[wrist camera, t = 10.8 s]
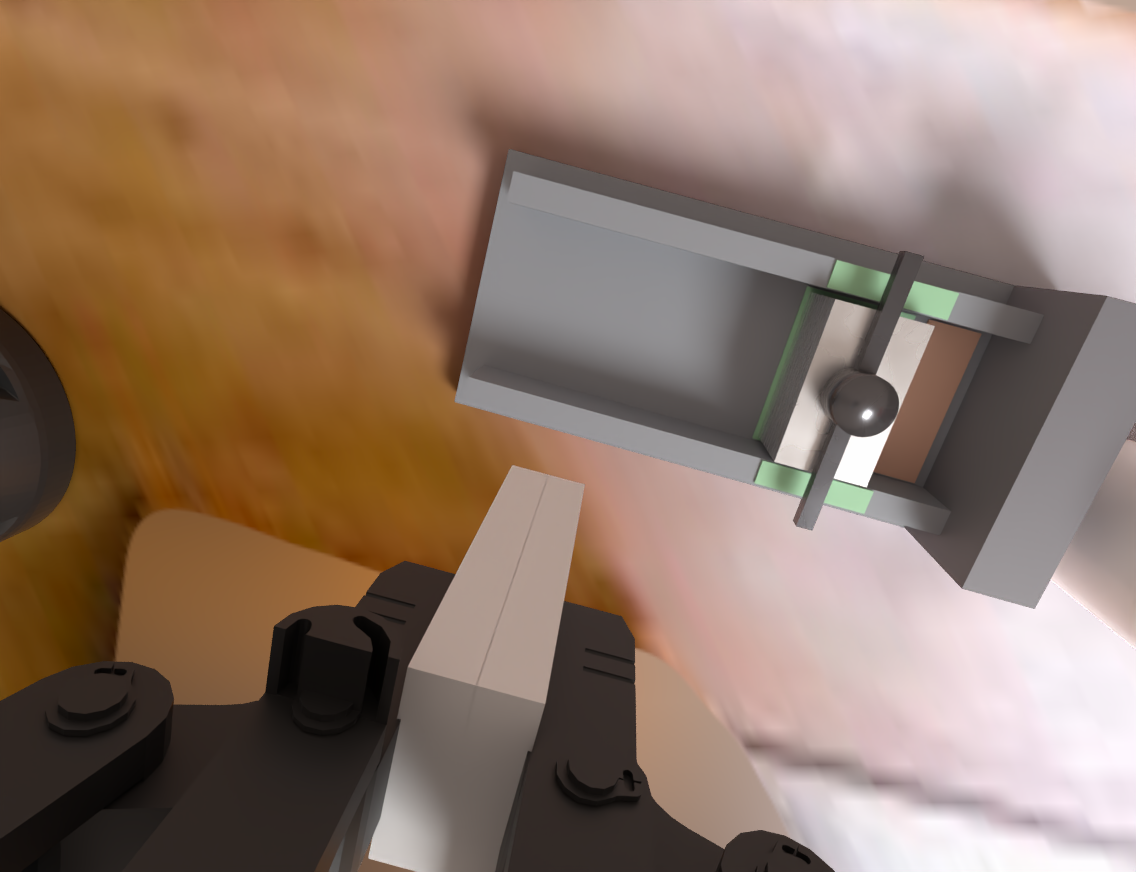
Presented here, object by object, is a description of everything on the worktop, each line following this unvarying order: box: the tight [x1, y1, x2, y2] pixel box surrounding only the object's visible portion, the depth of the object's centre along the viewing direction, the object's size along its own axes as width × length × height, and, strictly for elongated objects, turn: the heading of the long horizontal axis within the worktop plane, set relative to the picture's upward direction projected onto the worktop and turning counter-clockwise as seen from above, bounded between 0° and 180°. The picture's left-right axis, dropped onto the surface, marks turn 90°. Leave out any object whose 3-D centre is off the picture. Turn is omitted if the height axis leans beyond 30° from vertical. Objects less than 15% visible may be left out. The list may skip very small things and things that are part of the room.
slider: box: [758, 251, 935, 530], centre depth 28 cm, size 4×12×6 cm, turn 166°
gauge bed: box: [455, 149, 1136, 609], centre depth 29 cm, size 26×12×7 cm, turn 75°
